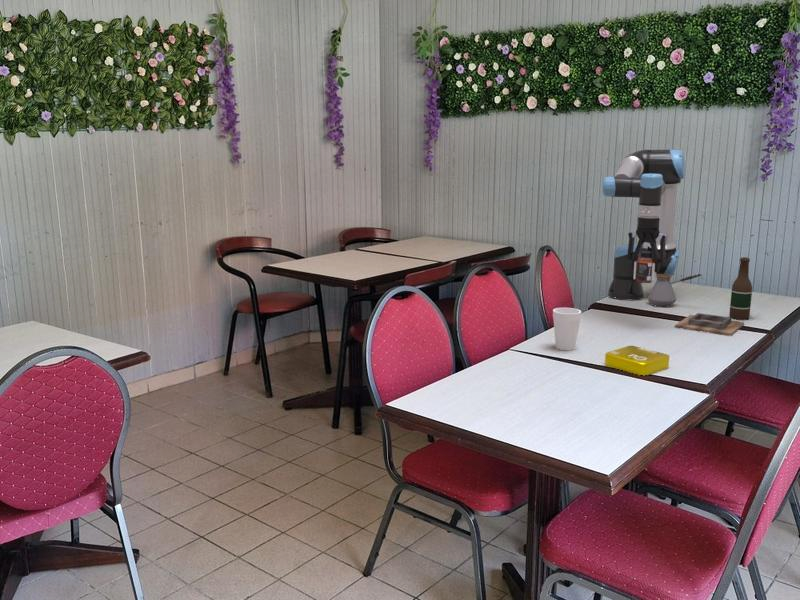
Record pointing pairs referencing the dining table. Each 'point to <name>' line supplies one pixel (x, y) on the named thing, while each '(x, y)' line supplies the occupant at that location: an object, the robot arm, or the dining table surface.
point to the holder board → (710, 324)
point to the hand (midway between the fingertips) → (644, 279)
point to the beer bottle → (741, 293)
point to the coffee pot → (665, 290)
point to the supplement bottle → (644, 267)
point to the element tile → (637, 360)
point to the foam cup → (566, 327)
